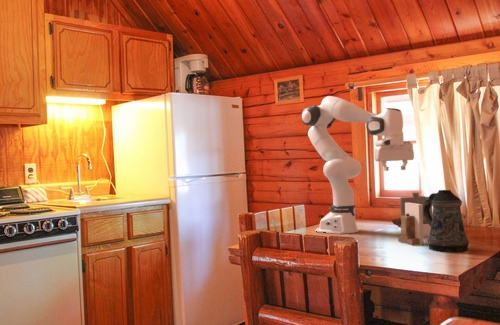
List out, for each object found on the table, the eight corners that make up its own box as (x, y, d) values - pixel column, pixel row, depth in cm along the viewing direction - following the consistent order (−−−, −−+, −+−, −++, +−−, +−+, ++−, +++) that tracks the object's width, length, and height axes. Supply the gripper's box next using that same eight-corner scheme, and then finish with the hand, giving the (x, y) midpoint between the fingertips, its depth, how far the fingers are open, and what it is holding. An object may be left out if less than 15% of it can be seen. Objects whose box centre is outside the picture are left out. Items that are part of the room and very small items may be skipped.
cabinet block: (406, 238, 226) (406, 214, 226) (400, 237, 230) (400, 213, 230) (414, 238, 227) (414, 214, 227) (408, 236, 232) (408, 213, 231)
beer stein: (465, 254, 202) (464, 192, 202) (416, 250, 212) (415, 191, 212) (471, 246, 216) (470, 189, 216) (425, 243, 226) (424, 188, 226)
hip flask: (401, 231, 263) (400, 193, 262) (400, 229, 267) (399, 192, 266) (433, 230, 261) (432, 192, 260) (431, 229, 265) (430, 191, 264)
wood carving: (468, 237, 239) (467, 214, 239) (392, 236, 248) (391, 214, 247) (465, 234, 248) (464, 211, 247) (392, 233, 256) (391, 211, 256)
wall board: (398, 241, 233) (397, 203, 233) (409, 240, 235) (408, 202, 235) (412, 245, 223) (411, 205, 223) (423, 244, 225) (422, 204, 225)
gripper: (408, 141, 246) (409, 169, 247) (372, 142, 240) (372, 171, 240) (416, 140, 240) (417, 169, 241) (379, 141, 234) (380, 171, 234)
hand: (394, 170), depth 240 cm, fingers open, 8 cm apart
